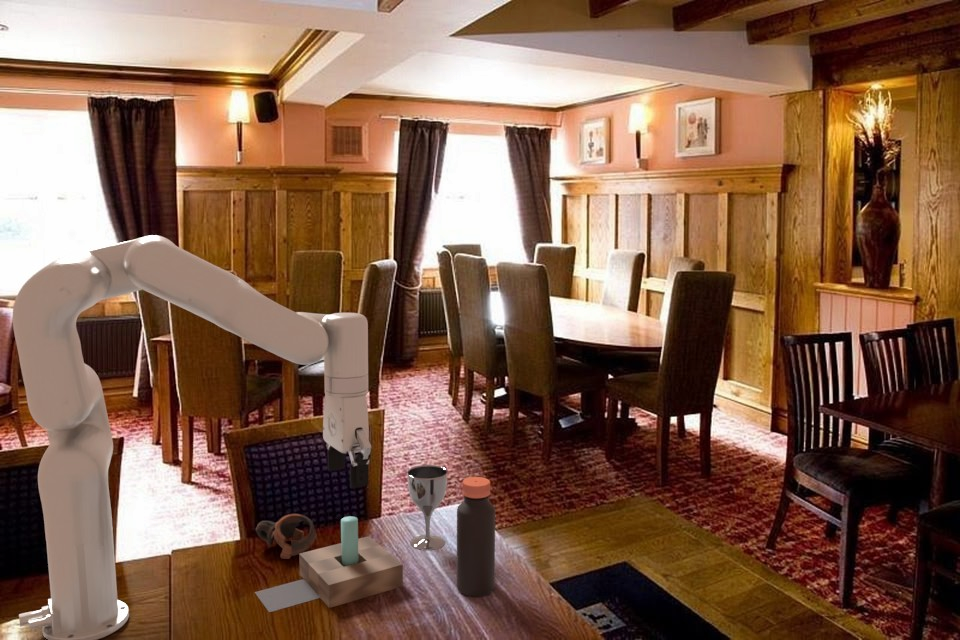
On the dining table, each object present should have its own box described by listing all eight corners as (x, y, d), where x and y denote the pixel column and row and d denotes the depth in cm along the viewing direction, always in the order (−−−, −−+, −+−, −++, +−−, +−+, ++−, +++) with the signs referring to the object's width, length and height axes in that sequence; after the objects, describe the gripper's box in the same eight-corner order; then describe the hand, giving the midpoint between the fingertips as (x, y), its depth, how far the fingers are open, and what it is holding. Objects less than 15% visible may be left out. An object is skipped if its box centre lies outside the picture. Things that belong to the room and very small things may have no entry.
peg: (346, 588, 140) (344, 524, 138) (339, 581, 142) (338, 518, 141) (361, 583, 142) (360, 520, 140) (354, 576, 144) (353, 515, 142)
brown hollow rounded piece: (316, 539, 161) (323, 513, 156) (306, 578, 153) (312, 552, 149) (258, 526, 160) (263, 500, 155) (245, 565, 152) (249, 538, 147)
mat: (269, 614, 131) (269, 612, 131) (254, 594, 137) (254, 592, 137) (325, 598, 136) (325, 596, 136) (308, 579, 143) (308, 577, 143)
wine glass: (454, 539, 160) (455, 469, 158) (432, 554, 153) (431, 481, 151) (423, 531, 164) (423, 462, 162) (400, 544, 157) (399, 473, 155)
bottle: (490, 599, 136) (491, 490, 133) (452, 595, 138) (453, 486, 134) (497, 581, 143) (498, 476, 140) (461, 577, 144) (461, 473, 141)
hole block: (329, 609, 132) (328, 585, 132) (299, 576, 144) (299, 553, 143) (402, 588, 140) (402, 564, 139) (369, 558, 152) (368, 536, 151)
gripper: (307, 376, 141) (309, 467, 144) (346, 397, 127) (347, 497, 130) (346, 372, 145) (347, 460, 148) (388, 391, 131) (388, 489, 134)
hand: (347, 477), depth 139 cm, fingers open, 9 cm apart
